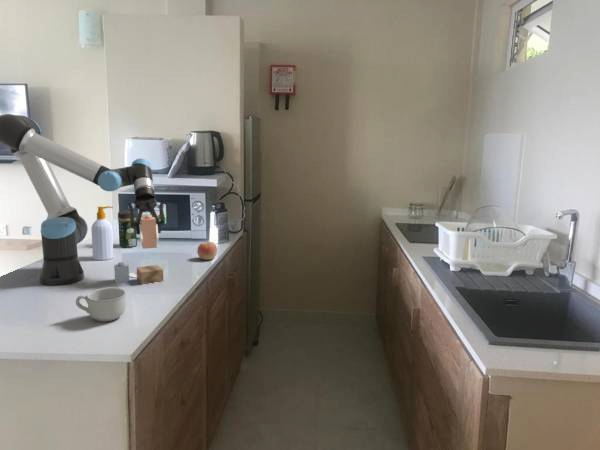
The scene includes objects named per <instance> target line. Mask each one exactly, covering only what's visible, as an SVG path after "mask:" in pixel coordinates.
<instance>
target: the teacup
mask: <svg viewBox="0 0 600 450" xmlns="http://www.w3.org/2000/svg"><path fill="white" fill-rule="evenodd" d="M126 293H127V291H126V290H124V289H123V288H119V287H102V288H98V289H94V290H91V291H90V292H89V293H88V294H80V295H78V296H77V297H76V299H75V305H76V306H77V308H79V309H80V310H82V311H84V312H86V314H89V316H90V317H91V318H93V320H95V321H98V322H103V323H105V322H107V321H108V322H112V320H113V321H116V320H117V319H119V318H120V317H121V316H122V315H123V314H124V313H125V311H126V308H127V307H126V305H127V303H126V299H127V298H126ZM81 299H84V301H85V302H86V304H87V306H84V305H83V304H82V303H81V302H80V301H81ZM115 319H116V320H115Z"/></svg>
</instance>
